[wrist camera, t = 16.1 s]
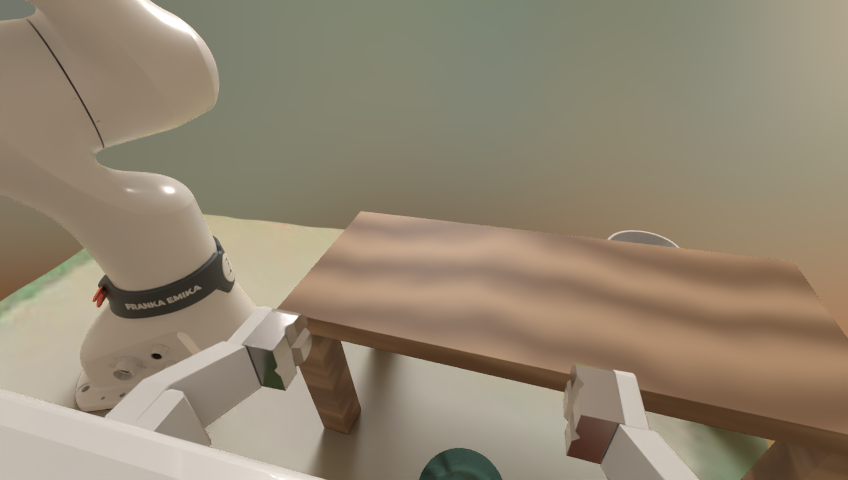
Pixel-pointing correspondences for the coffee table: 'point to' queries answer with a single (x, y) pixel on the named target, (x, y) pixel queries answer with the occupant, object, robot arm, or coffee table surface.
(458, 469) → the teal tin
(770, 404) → the low shelf
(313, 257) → the coffee table surface
